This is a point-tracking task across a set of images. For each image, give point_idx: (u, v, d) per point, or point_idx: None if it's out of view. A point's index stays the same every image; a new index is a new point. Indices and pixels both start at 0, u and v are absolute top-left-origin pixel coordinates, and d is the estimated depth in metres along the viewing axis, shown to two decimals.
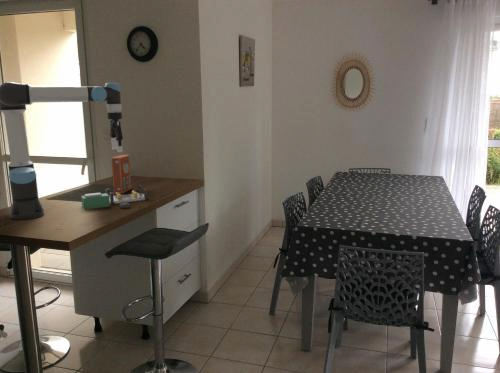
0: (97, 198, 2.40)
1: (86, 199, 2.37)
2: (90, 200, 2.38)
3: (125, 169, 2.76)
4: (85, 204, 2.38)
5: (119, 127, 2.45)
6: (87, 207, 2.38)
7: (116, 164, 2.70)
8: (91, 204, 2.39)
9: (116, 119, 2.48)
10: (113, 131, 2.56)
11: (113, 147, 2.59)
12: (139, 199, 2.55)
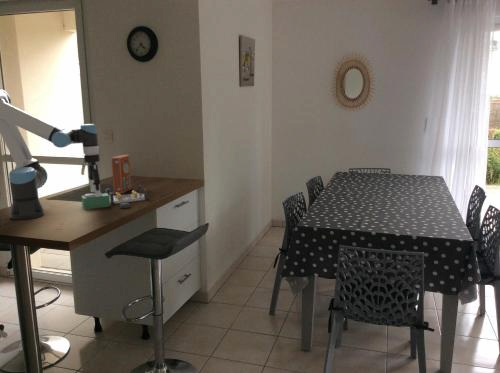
0: (97, 198, 2.40)
1: (86, 199, 2.37)
2: (90, 200, 2.38)
3: (125, 169, 2.76)
4: (85, 204, 2.38)
5: (96, 171, 2.33)
6: (87, 207, 2.38)
7: (116, 164, 2.70)
8: (91, 204, 2.39)
9: (93, 162, 2.35)
10: (91, 173, 2.44)
11: (92, 189, 2.47)
12: (139, 199, 2.55)
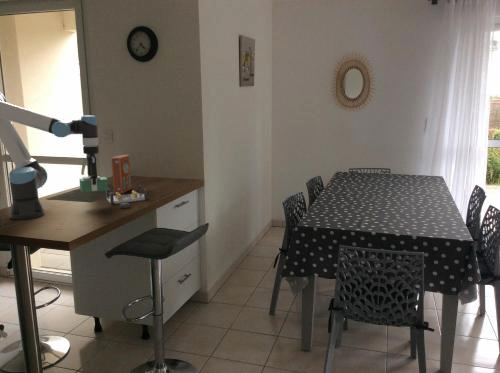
0: None
1: (84, 182, 2.36)
2: (88, 183, 2.37)
3: (125, 169, 2.76)
4: (83, 187, 2.36)
5: (94, 165, 2.33)
6: (85, 190, 2.37)
7: (116, 164, 2.70)
8: (89, 187, 2.37)
9: (92, 154, 2.35)
10: (90, 167, 2.41)
11: None
12: (139, 199, 2.55)
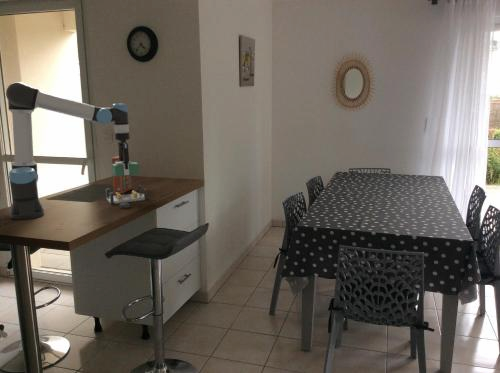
0: None
1: (117, 166, 2.49)
2: (121, 167, 2.50)
3: None
4: (116, 171, 2.49)
5: (126, 150, 2.47)
6: (118, 174, 2.50)
7: None
8: (122, 171, 2.50)
9: (124, 140, 2.48)
10: (121, 153, 2.55)
11: None
12: (139, 199, 2.55)
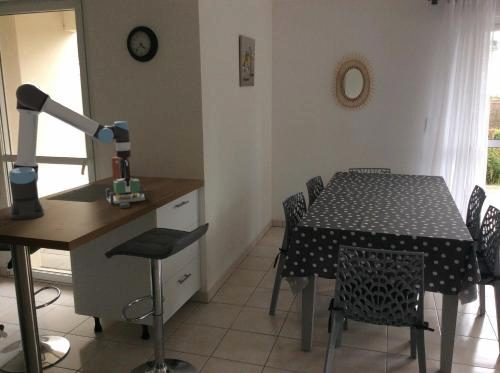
0: None
1: (118, 184, 2.51)
2: (122, 185, 2.52)
3: None
4: (118, 188, 2.51)
5: (128, 168, 2.49)
6: (119, 191, 2.52)
7: (116, 164, 2.70)
8: (123, 188, 2.52)
9: (125, 157, 2.50)
10: (123, 170, 2.57)
11: None
12: (139, 199, 2.55)
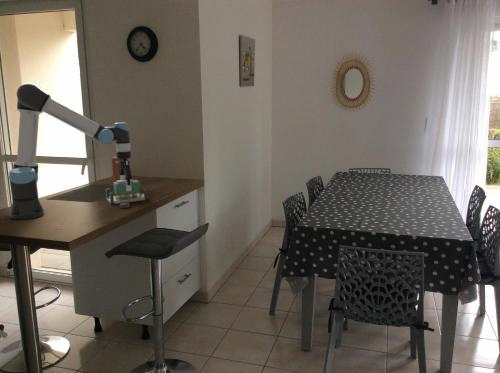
0: None
1: (118, 185, 2.51)
2: (122, 186, 2.52)
3: None
4: (117, 190, 2.51)
5: (128, 167, 2.48)
6: (119, 192, 2.52)
7: (116, 164, 2.70)
8: (123, 190, 2.53)
9: (125, 158, 2.50)
10: (122, 169, 2.58)
11: None
12: (139, 199, 2.55)
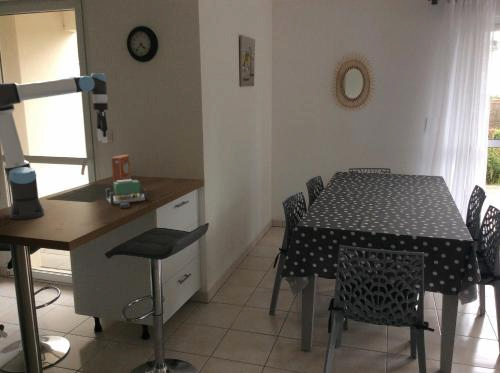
0: (129, 184, 2.53)
1: (118, 185, 2.51)
2: (122, 186, 2.52)
3: (125, 169, 2.76)
4: (117, 190, 2.51)
5: (104, 118, 2.44)
6: (119, 192, 2.52)
7: (116, 164, 2.70)
8: (123, 190, 2.53)
9: (101, 110, 2.46)
10: (99, 122, 2.55)
11: (99, 138, 2.58)
12: (139, 199, 2.55)
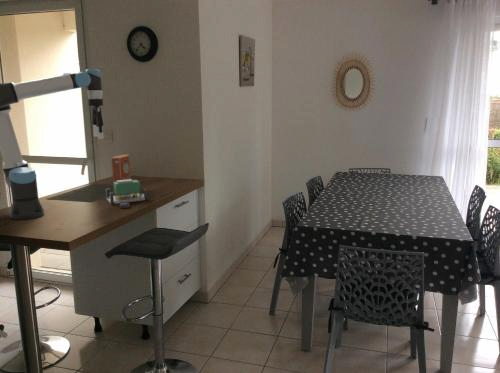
0: (129, 184, 2.53)
1: (118, 185, 2.51)
2: (122, 186, 2.52)
3: (125, 169, 2.76)
4: (117, 190, 2.51)
5: (100, 113, 2.44)
6: (119, 192, 2.52)
7: (116, 164, 2.70)
8: (123, 190, 2.53)
9: (97, 105, 2.47)
10: (94, 118, 2.55)
11: (95, 134, 2.59)
12: (139, 199, 2.55)
